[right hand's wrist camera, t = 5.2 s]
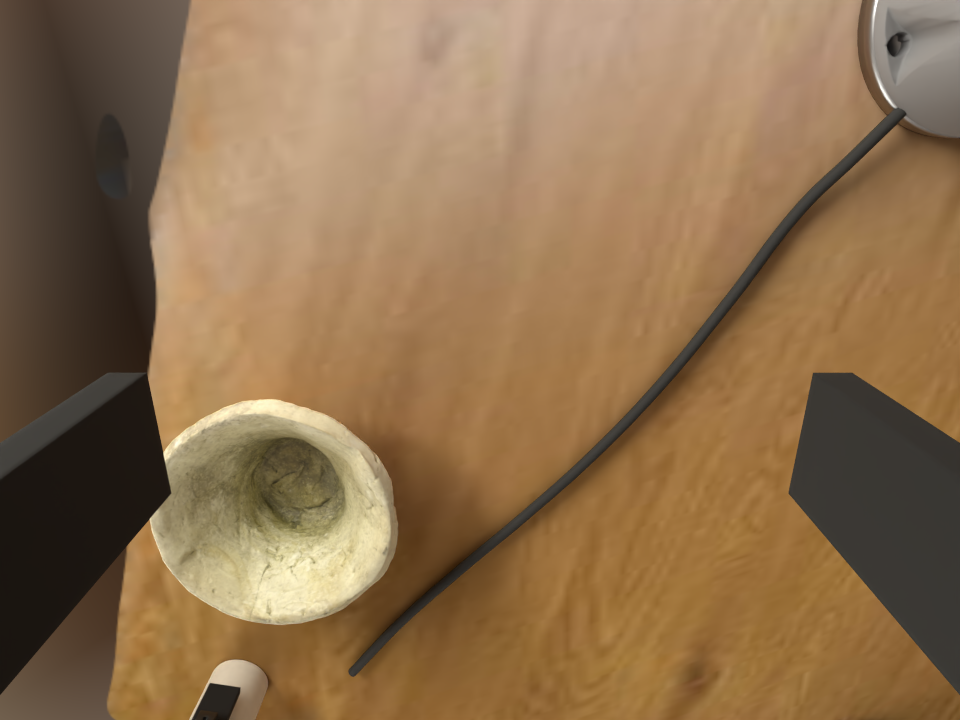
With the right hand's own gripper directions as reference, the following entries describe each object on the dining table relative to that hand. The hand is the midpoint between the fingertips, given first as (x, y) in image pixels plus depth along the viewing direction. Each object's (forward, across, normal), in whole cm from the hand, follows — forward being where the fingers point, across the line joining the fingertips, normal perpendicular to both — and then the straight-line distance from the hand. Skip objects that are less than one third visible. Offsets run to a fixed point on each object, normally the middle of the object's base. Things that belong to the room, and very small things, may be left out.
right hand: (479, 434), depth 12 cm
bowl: (+34, -15, -20) cm, 42 cm away
